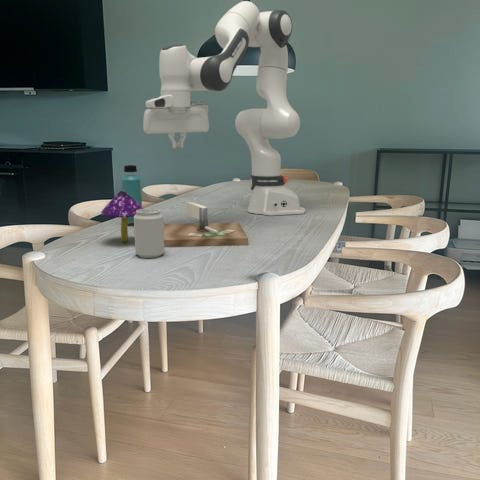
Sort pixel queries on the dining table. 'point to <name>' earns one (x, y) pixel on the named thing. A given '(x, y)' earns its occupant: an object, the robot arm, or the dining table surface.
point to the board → (204, 235)
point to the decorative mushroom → (122, 210)
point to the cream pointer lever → (199, 215)
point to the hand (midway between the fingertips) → (177, 148)
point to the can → (149, 233)
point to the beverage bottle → (132, 186)
